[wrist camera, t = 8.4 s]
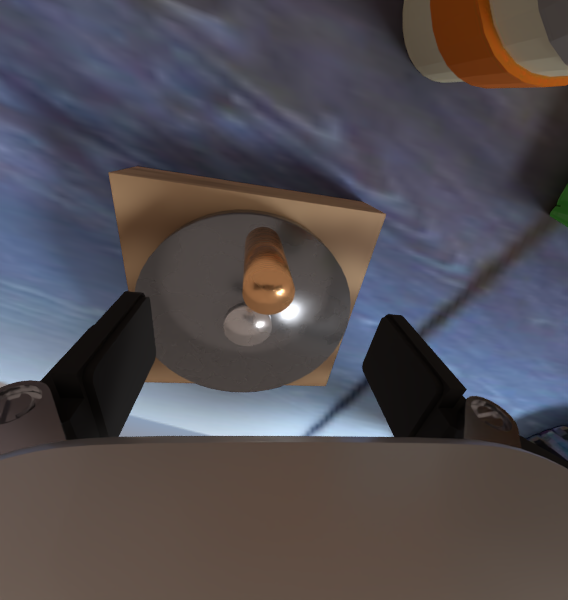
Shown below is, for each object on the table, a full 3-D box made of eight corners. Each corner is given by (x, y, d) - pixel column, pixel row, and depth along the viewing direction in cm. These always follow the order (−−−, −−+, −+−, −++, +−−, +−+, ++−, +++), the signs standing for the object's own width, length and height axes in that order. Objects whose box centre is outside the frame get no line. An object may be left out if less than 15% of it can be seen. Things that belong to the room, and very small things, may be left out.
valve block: (316, 356, 35) (325, 386, 30) (158, 349, 31) (143, 382, 27) (362, 201, 25) (386, 214, 20) (137, 166, 21) (108, 172, 17)
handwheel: (376, 235, 21) (442, 285, 14) (313, 385, 30) (333, 464, 22) (135, 183, 17) (49, 214, 10) (145, 373, 26) (103, 463, 19)
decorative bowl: (559, 462, 67) (605, 508, 59) (466, 485, 63) (502, 538, 55) (625, 399, 54) (698, 446, 45) (513, 423, 50) (570, 480, 41)
